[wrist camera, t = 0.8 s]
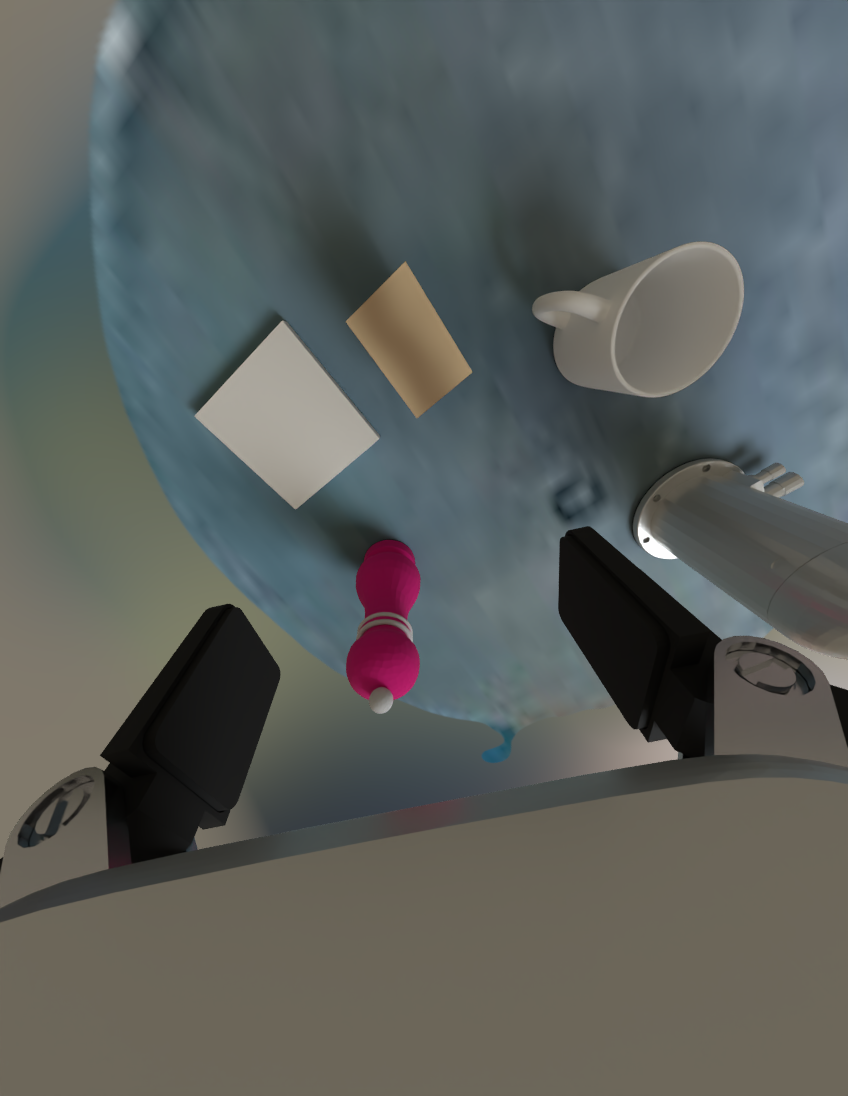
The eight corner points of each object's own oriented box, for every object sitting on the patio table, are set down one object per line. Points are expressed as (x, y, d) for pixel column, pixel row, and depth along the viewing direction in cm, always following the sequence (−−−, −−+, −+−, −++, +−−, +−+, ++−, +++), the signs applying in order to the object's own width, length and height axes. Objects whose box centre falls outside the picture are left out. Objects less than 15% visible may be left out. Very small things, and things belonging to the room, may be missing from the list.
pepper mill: (349, 548, 39) (308, 696, 22) (404, 526, 38) (406, 665, 21) (376, 591, 43) (358, 749, 26) (427, 573, 42) (444, 724, 25)
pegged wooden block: (404, 287, 27) (405, 261, 20) (455, 368, 30) (472, 372, 23) (360, 330, 29) (345, 321, 21) (413, 404, 32) (417, 418, 24)
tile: (286, 321, 28) (282, 320, 27) (380, 436, 33) (379, 438, 32) (201, 414, 31) (194, 416, 30) (298, 505, 36) (295, 509, 35)
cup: (611, 396, 32) (689, 410, 24) (499, 363, 30) (538, 365, 22) (660, 294, 28) (775, 266, 20) (534, 249, 26) (600, 196, 18)
